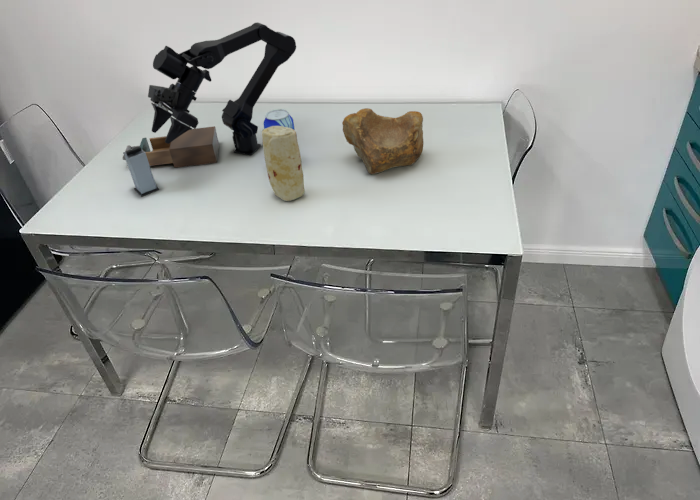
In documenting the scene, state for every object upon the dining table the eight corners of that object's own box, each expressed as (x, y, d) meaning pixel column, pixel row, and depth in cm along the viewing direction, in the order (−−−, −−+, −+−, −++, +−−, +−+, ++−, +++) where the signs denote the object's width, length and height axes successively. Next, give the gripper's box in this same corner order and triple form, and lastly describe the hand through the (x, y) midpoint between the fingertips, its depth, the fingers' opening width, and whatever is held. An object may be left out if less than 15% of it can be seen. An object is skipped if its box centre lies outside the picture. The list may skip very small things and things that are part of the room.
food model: (308, 190, 154) (299, 122, 142) (302, 203, 149) (292, 135, 137) (274, 188, 156) (263, 121, 144) (267, 201, 151) (254, 133, 139)
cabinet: (174, 167, 170) (169, 149, 166) (179, 148, 179) (174, 130, 175) (216, 162, 170) (212, 144, 166) (219, 144, 180) (215, 126, 176)
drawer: (124, 170, 169) (119, 156, 166) (131, 153, 177) (126, 139, 175) (180, 163, 170) (176, 150, 167) (184, 146, 178) (180, 133, 176)
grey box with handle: (152, 182, 164) (138, 142, 156) (159, 189, 160) (146, 149, 152) (134, 189, 161) (119, 149, 153) (141, 196, 158) (127, 156, 150)
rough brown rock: (340, 182, 158) (337, 136, 148) (345, 149, 170) (342, 104, 160) (423, 183, 156) (426, 136, 146) (422, 149, 168) (425, 104, 158)
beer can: (305, 162, 166) (298, 112, 157) (283, 174, 162) (275, 123, 152) (286, 154, 171) (278, 105, 161) (265, 166, 167) (255, 115, 157)
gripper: (147, 64, 154) (121, 114, 156) (176, 82, 142) (147, 136, 144) (181, 83, 162) (156, 131, 164) (210, 102, 150) (183, 153, 152)
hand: (159, 137), depth 156 cm, fingers open, 9 cm apart
